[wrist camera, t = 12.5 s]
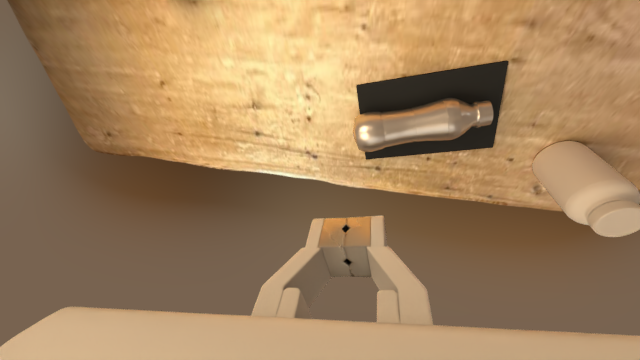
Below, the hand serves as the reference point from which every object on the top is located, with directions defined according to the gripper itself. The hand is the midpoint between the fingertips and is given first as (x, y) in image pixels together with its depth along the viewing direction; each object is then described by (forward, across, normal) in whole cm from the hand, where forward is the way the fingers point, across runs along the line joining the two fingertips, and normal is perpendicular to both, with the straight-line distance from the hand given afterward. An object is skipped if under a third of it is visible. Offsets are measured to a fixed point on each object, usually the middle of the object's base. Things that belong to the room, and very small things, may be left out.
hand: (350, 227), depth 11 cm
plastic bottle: (+33, +4, +12) cm, 35 cm away
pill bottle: (+37, -30, +23) cm, 53 cm away
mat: (+36, -8, +12) cm, 39 cm away
